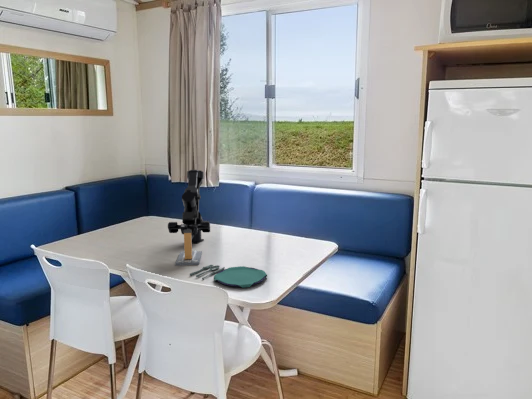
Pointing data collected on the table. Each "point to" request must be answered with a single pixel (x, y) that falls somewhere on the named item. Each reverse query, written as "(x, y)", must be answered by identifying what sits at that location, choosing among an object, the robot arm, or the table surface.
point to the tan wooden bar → (188, 244)
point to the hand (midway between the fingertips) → (188, 243)
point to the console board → (194, 261)
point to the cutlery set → (235, 275)
